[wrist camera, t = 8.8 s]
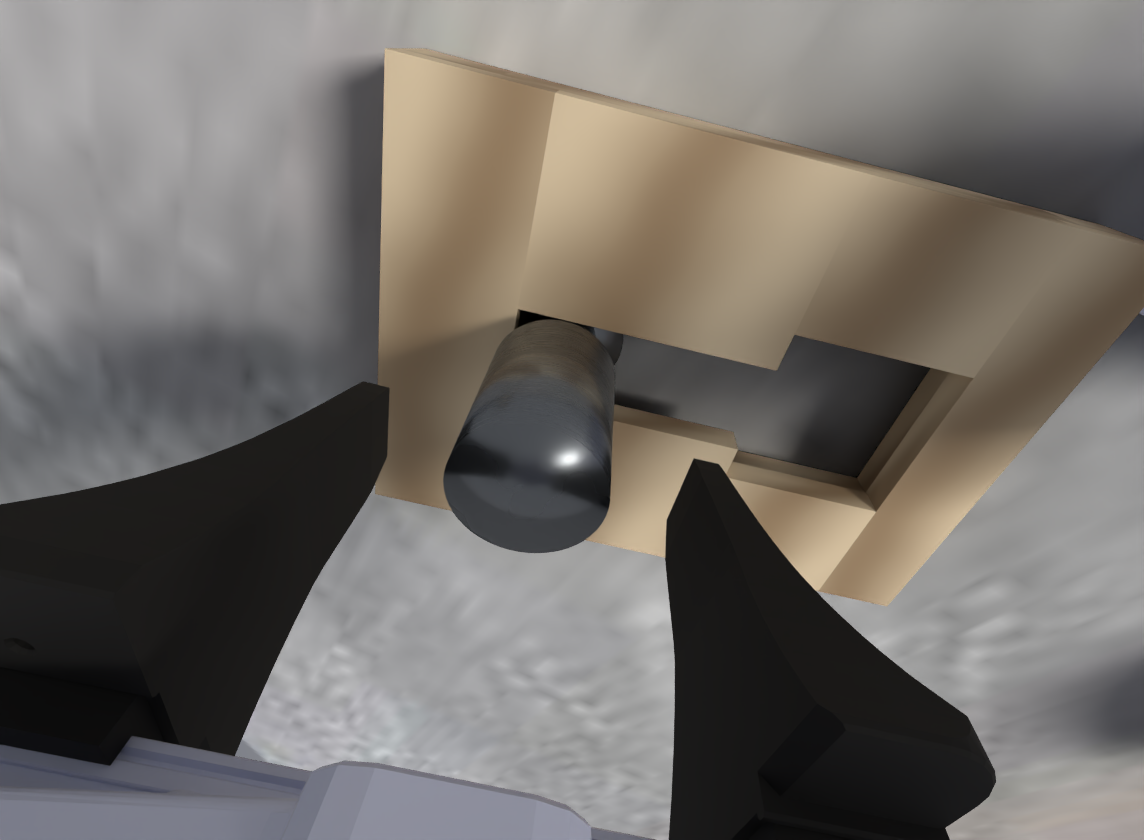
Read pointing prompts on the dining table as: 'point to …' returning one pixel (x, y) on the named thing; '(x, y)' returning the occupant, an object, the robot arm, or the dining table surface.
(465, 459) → the key peg
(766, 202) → the keyhole plate
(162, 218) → the dining table surface
